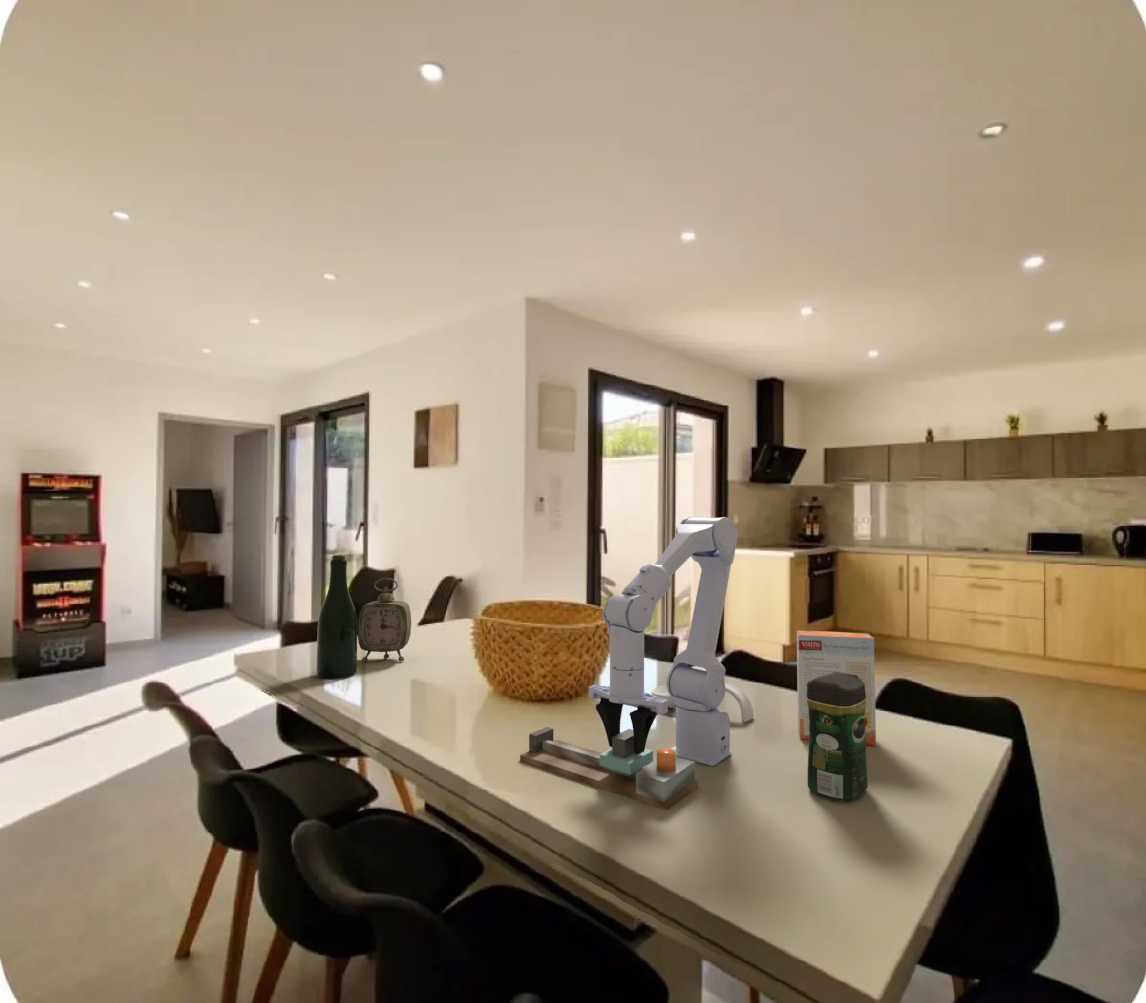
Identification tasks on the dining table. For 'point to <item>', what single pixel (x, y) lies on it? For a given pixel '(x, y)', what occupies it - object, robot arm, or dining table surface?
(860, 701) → the coffee jar
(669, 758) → the button
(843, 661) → the cracker box
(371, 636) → the tabletop clock
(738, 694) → the spoon rest
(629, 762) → the carriage
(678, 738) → the robot arm
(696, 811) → the dining table surface
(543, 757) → the rail board
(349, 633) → the green wine bottle
